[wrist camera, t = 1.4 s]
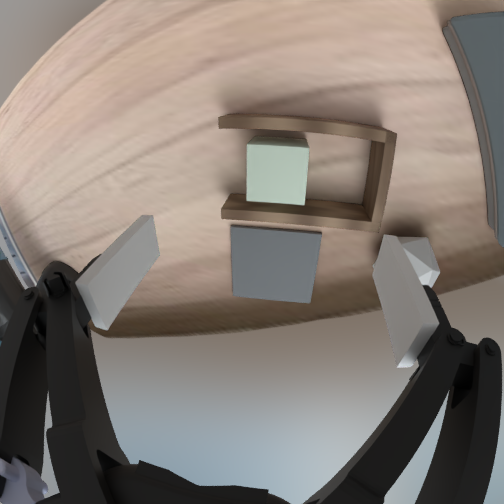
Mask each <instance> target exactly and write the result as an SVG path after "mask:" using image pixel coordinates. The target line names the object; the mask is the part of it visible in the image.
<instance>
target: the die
mask: <svg viewBox="0 0 504 504" xmlns="http://www.w3.org/2000/svg"><path fill="white" fill-rule="evenodd" d="M397 238H398V240H399V242H400V244H401V245H402V247H403V249H404V251H405V253H406V255H407V256H408V258H409V260H410V262H411V264H412V266H413V268H414V270H415V272H416V274H417V276H418V278H419V280H420V282H421V284H422V285H429V286H430V287H432V286H433V284H434V282H435V281H436V279H437V277H438V275H439V274H440V270H439V267H438V264H437V262H436V259H435V256H434V253H433V250H432V248H431V245H430V242H429V240H428V237H397ZM376 261H377V260H376ZM376 261H375V263H374V264H373V268H375V265H376Z"/></svg>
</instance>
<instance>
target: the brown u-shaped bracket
mask: <svg viewBox="0 0 504 504" xmlns="http://www.w3.org/2000/svg"><path fill="white" fill-rule="evenodd" d="M218 118H219V129H222V128H238V129H272V130H289V131H302V132H313V133H323V134H331V135H340V136H347V137H354V138H360V139H367V140H372V143H371V152H370V159H369V167H368V173H367V180H366V186H365V192H364V198H363V204H362V205H359V204H351V203H342V202H333V201H323V200H313V199H305V205H296V204H284V203H270V202H256V201H247V194H230V196H229V197H228V199H227V200H226V202H225V204H224V205H223V207H222V208H221V218H222V219H232V220H246V221H260V222H273V223H285V224H297V225H308V226H319V227H330V228H340V229H350V230H359V231H368V232H377V233H379V230H380V226H381V222H382V217H383V213H384V208H385V204H386V199H387V194H388V189H389V183H390V178H391V172H392V166H393V160H394V153H395V146H396V138H397V133H394V132H392V131H389V130H387V129H385V128H382V127H376V126H371V125H365V124H359V123H353V122H346V121H339V120H331V119H322V118H312V117H301V116H287V115H268V114H228V115H224V116H221V117H218Z"/></svg>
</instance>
